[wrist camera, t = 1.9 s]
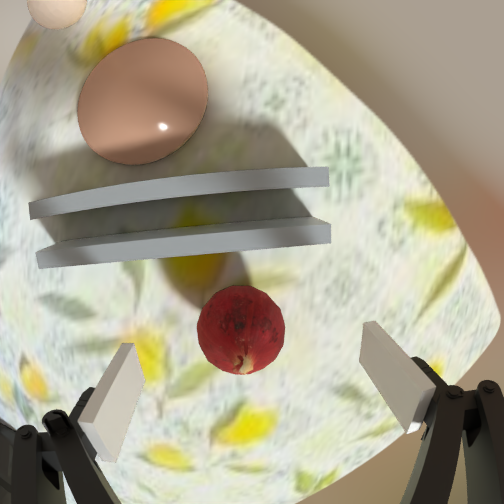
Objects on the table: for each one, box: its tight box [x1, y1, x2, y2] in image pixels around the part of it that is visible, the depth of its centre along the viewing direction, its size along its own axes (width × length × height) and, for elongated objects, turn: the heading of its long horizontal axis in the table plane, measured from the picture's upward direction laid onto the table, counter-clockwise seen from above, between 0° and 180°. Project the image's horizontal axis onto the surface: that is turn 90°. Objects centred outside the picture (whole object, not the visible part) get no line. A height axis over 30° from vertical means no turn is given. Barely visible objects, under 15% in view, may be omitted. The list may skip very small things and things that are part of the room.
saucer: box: [78, 38, 208, 165], centre depth 18 cm, size 10×10×1 cm
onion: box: [197, 286, 285, 375], centre depth 19 cm, size 6×6×8 cm
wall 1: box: [36, 217, 331, 269], centre depth 19 cm, size 20×1×4 cm, turn 94°
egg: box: [27, 0, 87, 29], centre depth 12 cm, size 5×5×7 cm
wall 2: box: [29, 167, 329, 220], centre depth 18 cm, size 20×1×4 cm, turn 94°
